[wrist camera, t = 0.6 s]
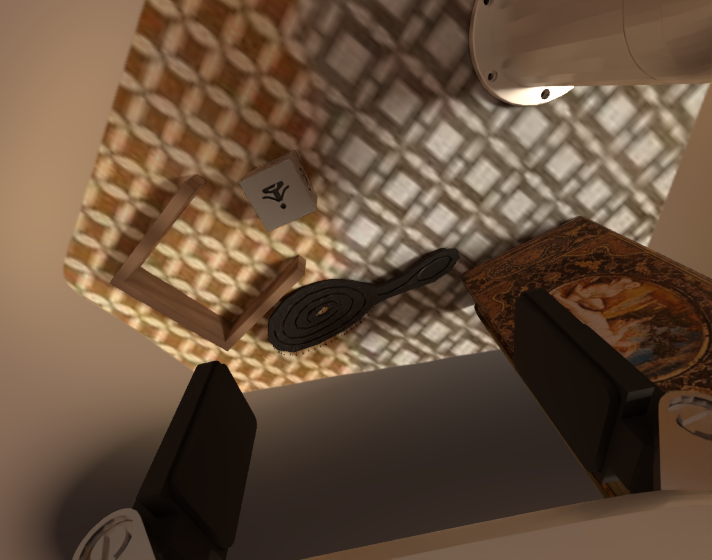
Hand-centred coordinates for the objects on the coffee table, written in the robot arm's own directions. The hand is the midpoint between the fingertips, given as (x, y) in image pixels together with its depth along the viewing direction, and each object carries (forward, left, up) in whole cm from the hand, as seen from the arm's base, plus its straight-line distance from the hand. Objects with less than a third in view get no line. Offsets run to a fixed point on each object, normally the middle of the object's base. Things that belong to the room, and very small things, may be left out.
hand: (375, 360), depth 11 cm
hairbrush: (+8, +12, -28) cm, 31 cm away
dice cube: (+5, -4, -27) cm, 28 cm away
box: (+17, -3, -27) cm, 32 cm away
